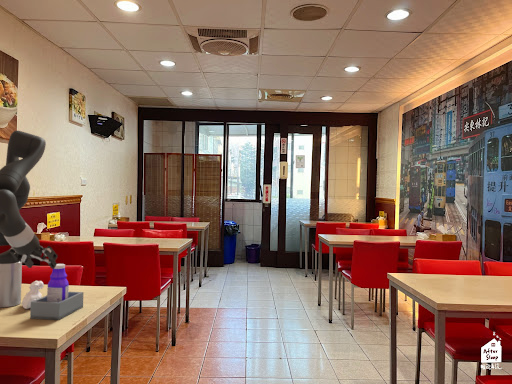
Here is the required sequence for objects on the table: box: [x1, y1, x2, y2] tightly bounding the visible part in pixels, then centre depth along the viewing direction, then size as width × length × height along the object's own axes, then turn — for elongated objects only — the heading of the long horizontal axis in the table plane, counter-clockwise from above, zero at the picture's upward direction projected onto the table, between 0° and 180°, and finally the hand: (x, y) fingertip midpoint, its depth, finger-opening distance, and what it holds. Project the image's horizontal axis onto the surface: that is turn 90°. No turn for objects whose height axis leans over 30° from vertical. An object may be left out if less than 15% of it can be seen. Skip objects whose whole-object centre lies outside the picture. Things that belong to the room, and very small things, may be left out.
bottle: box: [46, 263, 70, 302], centre depth 144 cm, size 7×6×17 cm
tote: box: [29, 291, 84, 321], centre depth 144 cm, size 11×16×6 cm
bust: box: [21, 280, 45, 310], centre depth 151 cm, size 12×8×11 cm
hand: (42, 266), depth 134 cm, fingers open, 8 cm apart
